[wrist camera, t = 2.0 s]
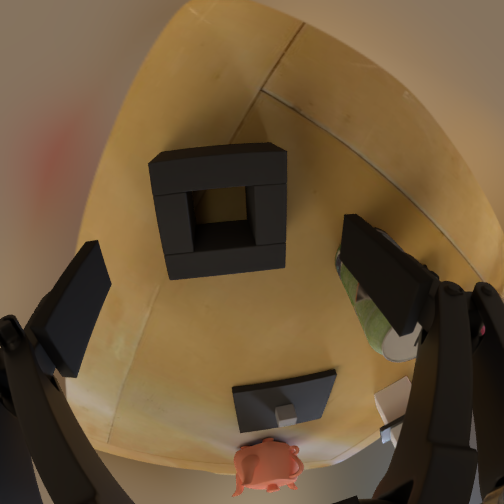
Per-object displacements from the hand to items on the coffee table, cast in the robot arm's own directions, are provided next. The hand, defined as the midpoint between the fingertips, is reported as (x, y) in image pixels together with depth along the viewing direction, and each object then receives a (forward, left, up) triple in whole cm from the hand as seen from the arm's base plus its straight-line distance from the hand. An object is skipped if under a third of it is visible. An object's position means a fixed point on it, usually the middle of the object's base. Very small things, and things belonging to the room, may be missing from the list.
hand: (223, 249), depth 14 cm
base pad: (-6, +31, -8) cm, 33 cm away
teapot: (-2, +51, -8) cm, 51 cm away
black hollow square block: (0, 0, -8) cm, 8 cm away
